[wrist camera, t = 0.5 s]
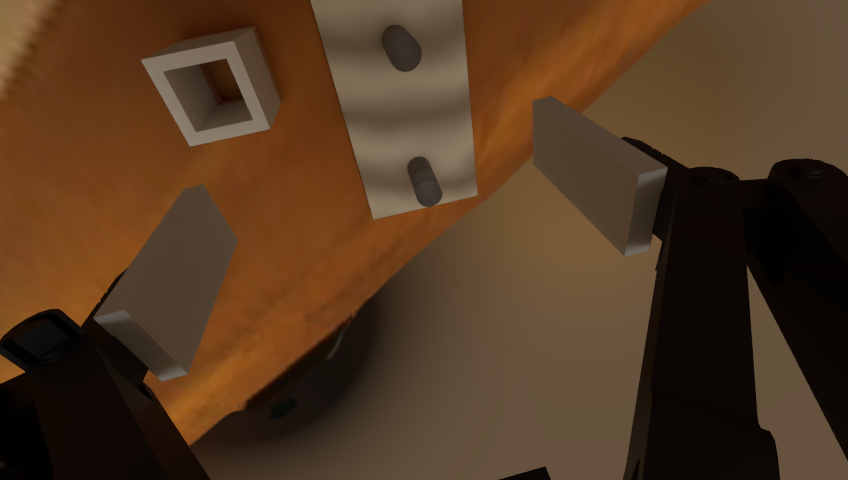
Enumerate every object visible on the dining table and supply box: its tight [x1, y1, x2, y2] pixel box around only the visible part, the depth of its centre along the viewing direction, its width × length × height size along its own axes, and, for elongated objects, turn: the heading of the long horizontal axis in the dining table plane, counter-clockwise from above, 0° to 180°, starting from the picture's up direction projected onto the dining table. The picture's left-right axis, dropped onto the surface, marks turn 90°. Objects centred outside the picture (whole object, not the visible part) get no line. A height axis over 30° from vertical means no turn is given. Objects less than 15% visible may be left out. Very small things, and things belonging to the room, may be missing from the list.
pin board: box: [310, 0, 478, 219], centre depth 34 cm, size 22×12×8 cm, turn 9°
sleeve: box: [141, 25, 283, 146], centre depth 30 cm, size 6×6×8 cm
